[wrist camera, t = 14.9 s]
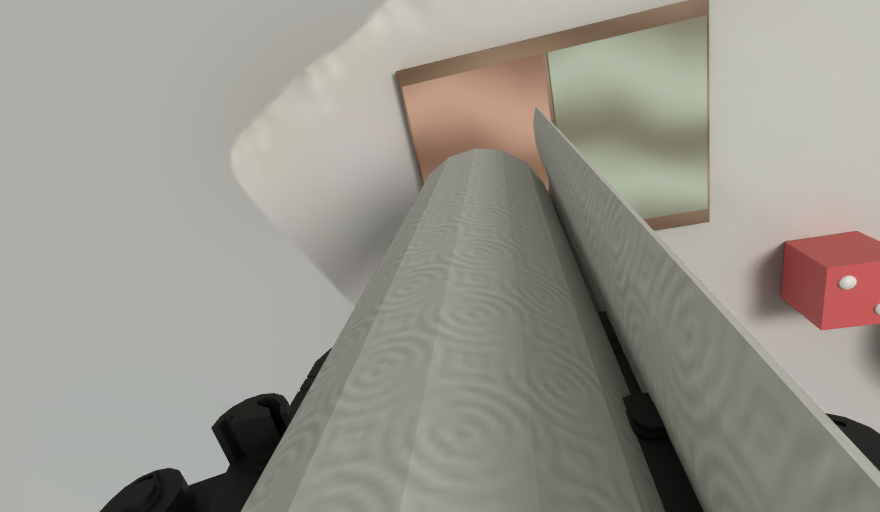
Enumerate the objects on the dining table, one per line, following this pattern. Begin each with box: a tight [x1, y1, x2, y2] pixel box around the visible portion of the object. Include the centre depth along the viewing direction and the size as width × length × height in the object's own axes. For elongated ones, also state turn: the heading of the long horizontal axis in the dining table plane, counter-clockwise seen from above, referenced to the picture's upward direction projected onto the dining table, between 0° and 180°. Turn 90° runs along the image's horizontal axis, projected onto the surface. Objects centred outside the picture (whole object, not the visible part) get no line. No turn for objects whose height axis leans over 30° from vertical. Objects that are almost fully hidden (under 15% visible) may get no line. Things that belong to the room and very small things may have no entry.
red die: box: [781, 231, 880, 330], centre depth 30 cm, size 4×4×5 cm
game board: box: [396, 0, 709, 230], centre depth 31 cm, size 14×19×1 cm
